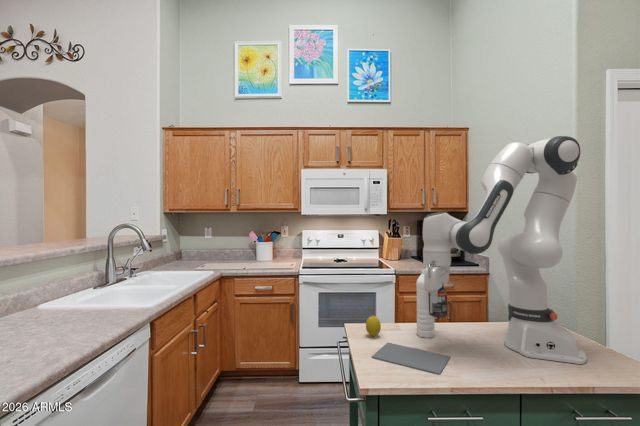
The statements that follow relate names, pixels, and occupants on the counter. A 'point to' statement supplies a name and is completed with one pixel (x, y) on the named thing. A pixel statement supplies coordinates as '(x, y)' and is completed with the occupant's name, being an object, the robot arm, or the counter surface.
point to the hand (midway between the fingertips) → (437, 300)
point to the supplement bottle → (438, 304)
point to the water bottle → (424, 310)
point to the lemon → (373, 325)
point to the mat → (412, 358)
